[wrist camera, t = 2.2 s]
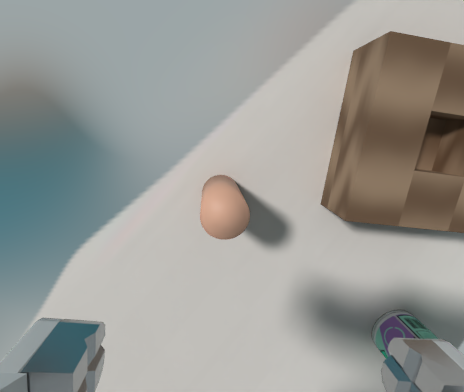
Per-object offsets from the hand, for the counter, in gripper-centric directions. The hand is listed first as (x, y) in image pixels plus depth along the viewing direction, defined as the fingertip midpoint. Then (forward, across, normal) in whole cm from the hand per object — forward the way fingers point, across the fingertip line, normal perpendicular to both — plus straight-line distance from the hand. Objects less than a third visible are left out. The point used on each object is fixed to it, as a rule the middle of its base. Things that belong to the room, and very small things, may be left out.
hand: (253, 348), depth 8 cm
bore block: (+19, +17, +7) cm, 26 cm away
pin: (+19, 0, 0) cm, 19 cm away
